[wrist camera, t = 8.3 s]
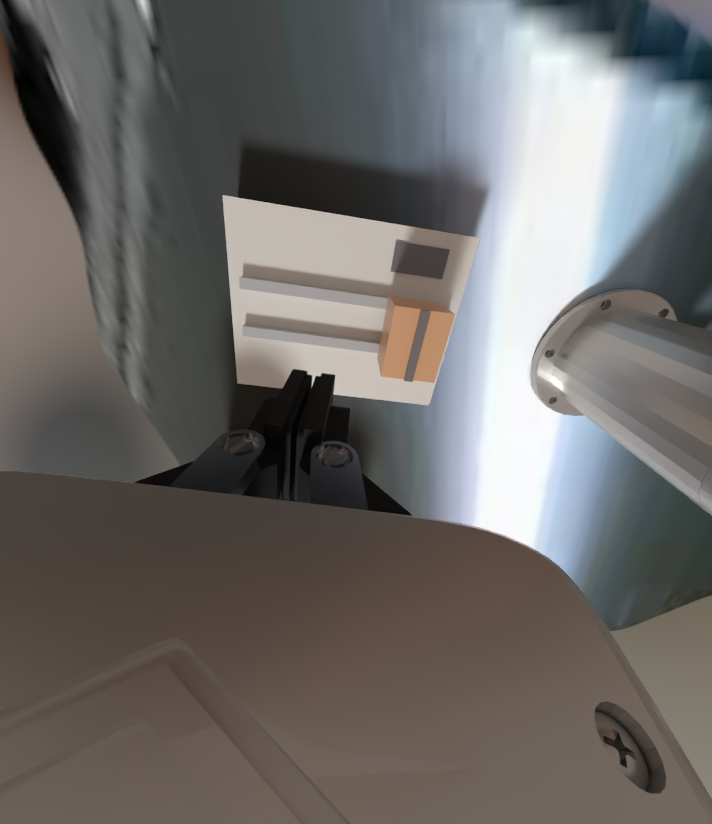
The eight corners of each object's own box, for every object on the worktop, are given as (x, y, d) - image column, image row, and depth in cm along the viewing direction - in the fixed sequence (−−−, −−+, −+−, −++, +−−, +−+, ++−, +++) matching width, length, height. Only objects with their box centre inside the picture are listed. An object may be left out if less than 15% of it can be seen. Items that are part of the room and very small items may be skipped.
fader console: (466, 237, 24) (485, 238, 20) (422, 390, 31) (430, 409, 28) (237, 199, 22) (218, 193, 19) (247, 370, 29) (234, 387, 26)
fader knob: (437, 299, 23) (456, 315, 19) (421, 359, 26) (435, 384, 22) (387, 292, 23) (395, 306, 19) (376, 353, 25) (381, 378, 21)
